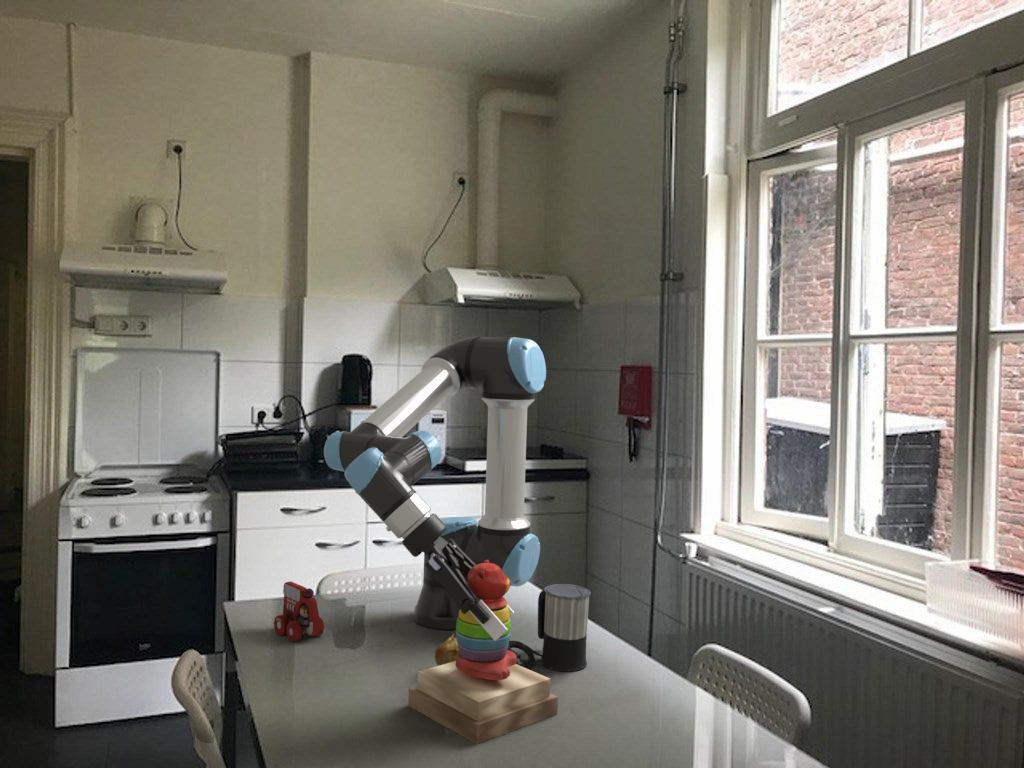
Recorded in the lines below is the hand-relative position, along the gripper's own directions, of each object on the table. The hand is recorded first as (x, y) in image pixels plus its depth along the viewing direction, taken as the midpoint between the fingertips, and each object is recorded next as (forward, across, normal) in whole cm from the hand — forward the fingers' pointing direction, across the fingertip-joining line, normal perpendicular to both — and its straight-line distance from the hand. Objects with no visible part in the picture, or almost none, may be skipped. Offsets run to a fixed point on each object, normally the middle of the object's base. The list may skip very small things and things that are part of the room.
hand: (505, 626), depth 141 cm
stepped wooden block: (+8, 0, -13) cm, 15 cm away
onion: (+3, -16, -18) cm, 24 cm away
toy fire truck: (-22, -29, -44) cm, 57 cm away
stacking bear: (+3, 0, -8) cm, 8 cm away
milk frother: (+14, -24, -7) cm, 29 cm away
